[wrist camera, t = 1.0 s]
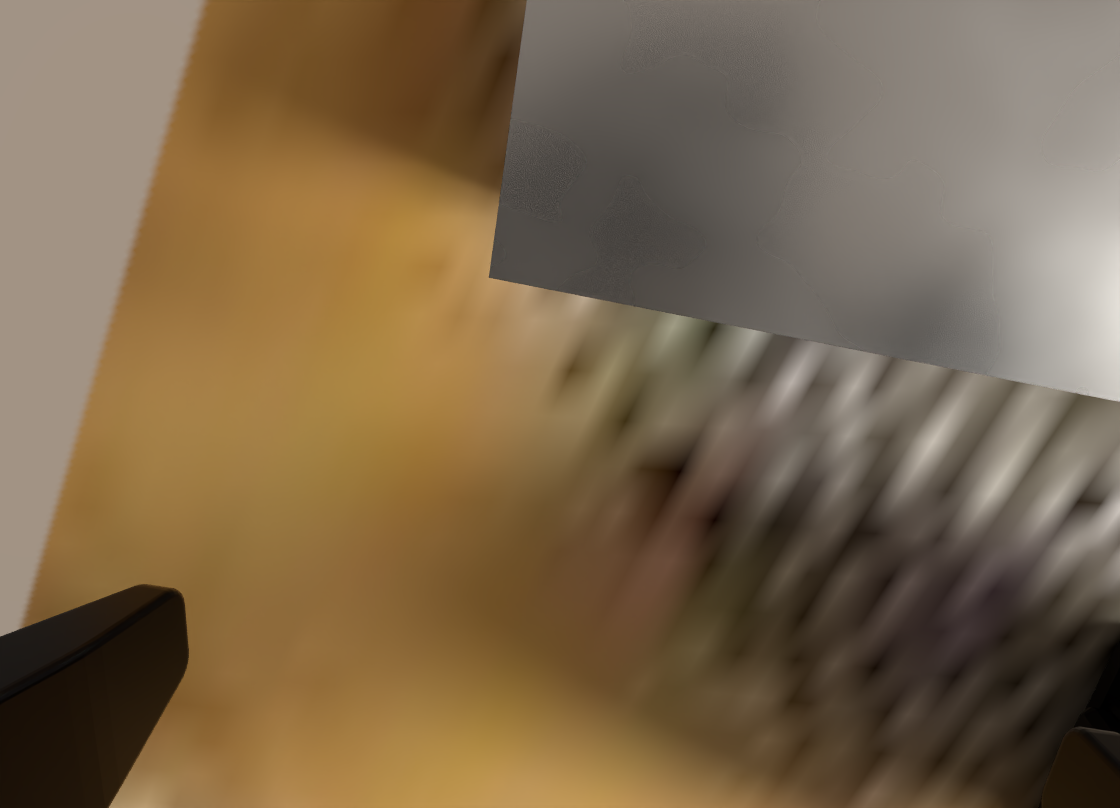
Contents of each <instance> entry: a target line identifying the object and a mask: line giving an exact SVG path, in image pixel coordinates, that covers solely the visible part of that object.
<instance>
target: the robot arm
mask: <svg viewBox="0 0 1120 808" xmlns="http://www.w3.org/2000/svg"><path fill="white" fill-rule="evenodd" d="M188 658H189V648H188V636H187V624H186V612H185V603H184V598H183V596H182V594H181V593H180V592H179V591H178V590H176V589H174V588H168V587H161V586H155V585H148V584H141V585H136V586H134V587H131V588H128V589H126V590H123V591H120V592H118V593H115V594H112V595H110V596H107V597H104V598H102V599H99V600H96V601H94V602H91V603H88V604H86V605H83V606H80V607H78V608H75V609H72V610H70V611H67V612H64V613H62V614H59V615H56V616H54V617H51V618H48V619H46V620H43V621H41V622H38V623H35V624H33V625H30V626H27V627H25V628H22V629H19V630H17V631H14V632H11V633H9V634H6V635H4V636H1V637H0V808H109V806H110V804H111V803H112V801H113V799H114V798H115V796H116V794H117V793H118V791H119V789H120V788H121V786H122V784H123V782H124V781H125V779H126V777H127V775H128V774H129V772H130V770H131V768H132V767H133V765H134V763H135V761H136V760H137V758H138V756H139V754H140V752H141V751H142V749H143V747H144V745H145V744H146V742H147V740H148V738H149V737H150V735H151V733H152V731H153V730H154V728H155V726H156V724H157V722H158V721H159V719H160V717H161V715H162V714H163V712H164V710H165V708H166V707H167V705H168V703H169V701H170V700H171V698H172V696H173V694H174V692H175V691H176V689H177V687H178V685H179V684H180V682H181V680H182V678H183V676H184V674H185V671H186V668H187V664H188ZM1038 808H1120V642H1119V643H1118V644H1117V646H1116V647H1115V649H1114V651H1113V654H1112V656H1111V658H1110V660H1109V662H1108V664H1107V666H1106V668H1105V670H1104V672H1103V674H1102V676H1101V678H1100V680H1099V683H1098V685H1097V687H1096V689H1095V691H1094V693H1093V695H1092V697H1091V699H1090V701H1089V703H1088V705H1087V707H1086V709H1085V711H1084V712H1083V713H1082V714H1081V715H1080V716H1079V718H1078V721H1077V723H1076V725H1075V727H1074V728H1072V729H1070V730H1069V731H1068V732H1067V733H1066V734H1065V736H1064V738H1063V740H1062V742H1061V745H1060V747H1059V750H1058V752H1057V755H1056V757H1055V760H1054V763H1053V765H1052V768H1051V770H1050V773H1049V775H1048V778H1047V780H1046V783H1045V785H1044V788H1043V792H1042V801H1041V803H1040V805H1039V807H1038Z"/></svg>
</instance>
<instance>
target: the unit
mask: <svg viewBox="0 0 1120 808" xmlns="http://www.w3.org/2000/svg"><path fill="white" fill-rule="evenodd" d="M489 278H494V279H499V280H504V281H509V282H514V283H519V284H524V285H529V286H534V287H539V288H544V289H550V290H555V291H560V292H565V293H570V294H575V295H580V296H585V297H590V298H595V299H600V300H605V301H611V302H616V303H621V304H626V305H631V306H636V307H641V308H646V309H651V310H656V311H661V312H666V313H672V314H677V315H682V316H687V317H692V318H697V319H702V320H707V321H712V322H717V323H722V324H727V325H733V326H738V327H743V328H748V329H753V330H758V331H763V332H768V333H773V334H778V335H783V336H788V337H793V338H799V339H804V340H809V341H814V342H819V343H824V344H829V345H834V346H839V347H844V348H849V349H854V350H860V351H865V352H870V353H875V354H880V355H885V356H890V357H895V358H900V359H905V360H910V361H915V362H921V363H926V364H931V365H936V366H941V367H946V368H951V369H956V370H961V371H966V372H971V373H976V374H982V375H987V376H992V377H997V378H1002V379H1007V380H1012V381H1017V382H1022V383H1027V384H1032V385H1037V386H1043V387H1048V388H1053V389H1058V390H1063V391H1068V392H1073V393H1078V394H1083V395H1088V396H1093V397H1098V398H1103V399H1109V400H1114V401H1119V402H1120V0H527V3H526V10H525V17H524V25H523V32H522V39H521V47H520V54H519V61H518V69H517V76H516V83H515V90H514V98H513V105H512V112H511V120H510V127H509V134H508V142H507V149H506V156H505V164H504V171H503V178H502V185H501V193H500V200H499V207H498V215H497V222H496V229H495V237H494V244H493V251H492V259H491V266H490V273H489Z"/></svg>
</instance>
